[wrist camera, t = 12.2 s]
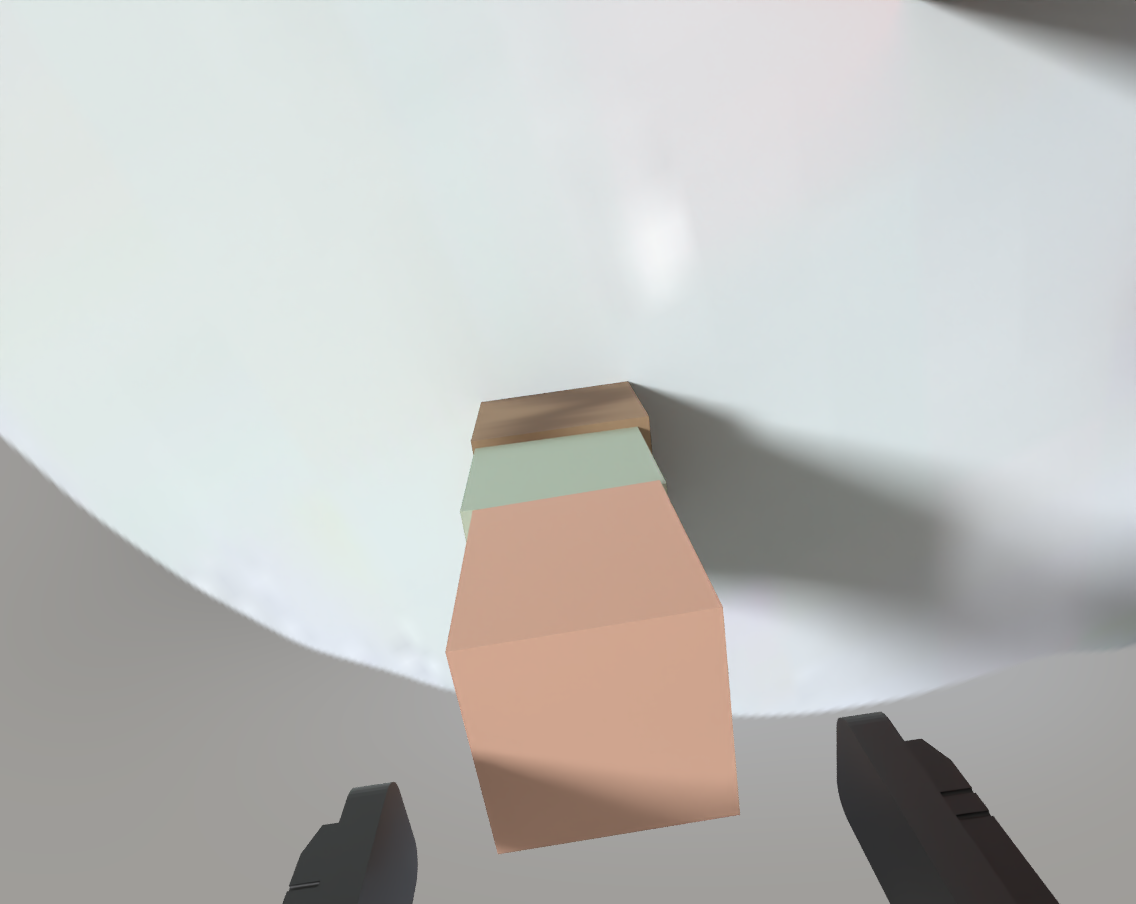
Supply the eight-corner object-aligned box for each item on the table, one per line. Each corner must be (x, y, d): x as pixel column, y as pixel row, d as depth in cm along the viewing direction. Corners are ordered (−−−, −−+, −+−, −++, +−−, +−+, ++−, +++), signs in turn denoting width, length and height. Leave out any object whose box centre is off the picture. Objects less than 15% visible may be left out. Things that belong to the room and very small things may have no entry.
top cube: (637, 426, 22) (666, 483, 17) (650, 569, 24) (679, 655, 19) (475, 448, 22) (460, 511, 17) (500, 589, 24) (493, 681, 19)
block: (659, 480, 17) (722, 607, 12) (677, 637, 19) (740, 814, 13) (472, 510, 17) (445, 652, 12) (507, 665, 19) (498, 854, 13)
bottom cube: (627, 381, 27) (648, 416, 22) (641, 513, 29) (663, 571, 24) (481, 401, 27) (470, 441, 22) (505, 533, 29) (500, 595, 24)
